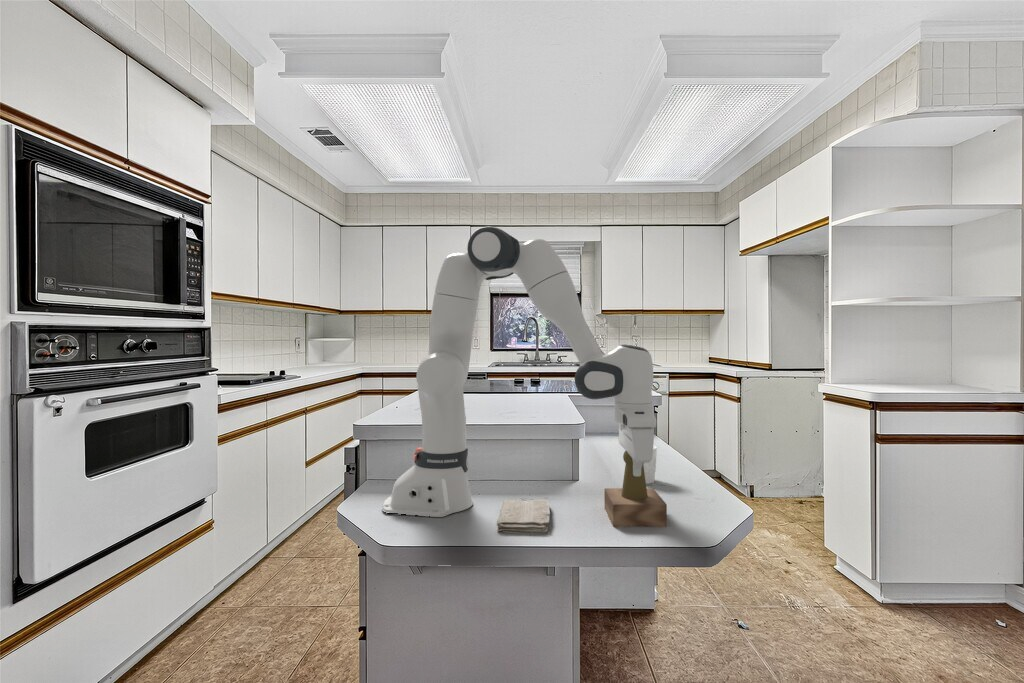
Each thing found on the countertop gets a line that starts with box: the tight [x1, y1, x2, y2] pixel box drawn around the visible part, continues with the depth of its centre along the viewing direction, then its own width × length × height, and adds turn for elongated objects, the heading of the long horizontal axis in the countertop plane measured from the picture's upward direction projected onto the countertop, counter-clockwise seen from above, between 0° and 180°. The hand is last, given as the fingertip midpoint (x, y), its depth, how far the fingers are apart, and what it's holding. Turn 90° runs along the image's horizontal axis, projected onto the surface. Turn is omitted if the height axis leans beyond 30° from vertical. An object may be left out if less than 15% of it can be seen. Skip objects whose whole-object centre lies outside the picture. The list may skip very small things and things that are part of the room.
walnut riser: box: [604, 487, 668, 528], centre depth 125 cm, size 12×12×5 cm
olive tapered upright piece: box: [621, 450, 648, 500], centre depth 125 cm, size 6×6×11 cm
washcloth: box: [496, 499, 551, 535], centre depth 125 cm, size 12×18×3 cm, turn 177°
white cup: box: [643, 445, 658, 485], centre depth 155 cm, size 8×8×10 cm
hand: (633, 472), depth 125 cm, fingers open, 4 cm apart
